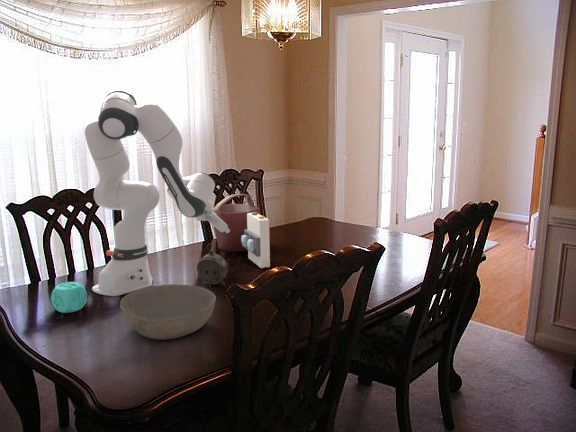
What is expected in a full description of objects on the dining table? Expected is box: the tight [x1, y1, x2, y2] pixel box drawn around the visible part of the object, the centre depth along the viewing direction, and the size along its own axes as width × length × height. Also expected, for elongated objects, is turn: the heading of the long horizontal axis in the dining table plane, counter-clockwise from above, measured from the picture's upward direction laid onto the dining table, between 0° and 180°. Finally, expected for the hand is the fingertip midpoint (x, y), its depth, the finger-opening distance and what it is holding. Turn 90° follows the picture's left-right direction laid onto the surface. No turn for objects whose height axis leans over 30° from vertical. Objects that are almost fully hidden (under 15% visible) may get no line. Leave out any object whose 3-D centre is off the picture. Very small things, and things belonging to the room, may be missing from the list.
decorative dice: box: [50, 281, 88, 314], centre depth 174 cm, size 8×8×8 cm
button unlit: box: [241, 235, 249, 247], centre depth 223 cm, size 2×5×5 cm, turn 23°
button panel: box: [244, 212, 271, 269], centre depth 220 cm, size 6×16×21 cm, turn 23°
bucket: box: [212, 193, 261, 253], centre depth 245 cm, size 24×22×25 cm
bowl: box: [119, 283, 217, 341], centre depth 156 cm, size 28×28×10 cm
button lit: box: [247, 239, 255, 252], centre depth 215 cm, size 2×5×5 cm, turn 23°
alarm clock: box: [196, 243, 229, 288], centre depth 193 cm, size 11×5×16 cm, turn 74°
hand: (228, 231), depth 209 cm, fingers closed
